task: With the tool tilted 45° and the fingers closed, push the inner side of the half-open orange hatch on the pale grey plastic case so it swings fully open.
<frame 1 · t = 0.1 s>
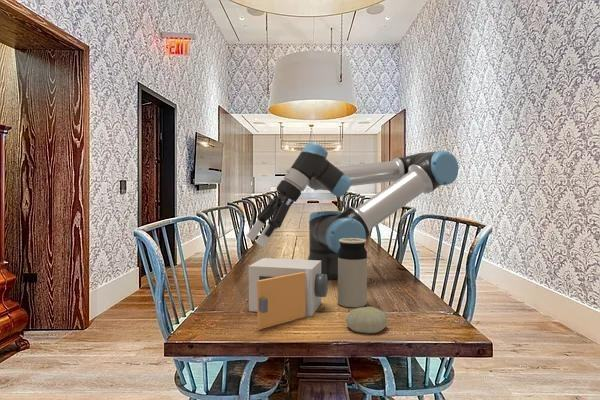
hand: (254, 241, 135), 15 cm above the table, tool tilted 35°, fingers open, 13 cm apart
hatch: (284, 299, 104), point 6 cm above the table, hinge at 55.0°
travel mug: (352, 304, 122), on the table
case: (286, 306, 119), on the table
sea urchin shell: (366, 329, 102), on the table
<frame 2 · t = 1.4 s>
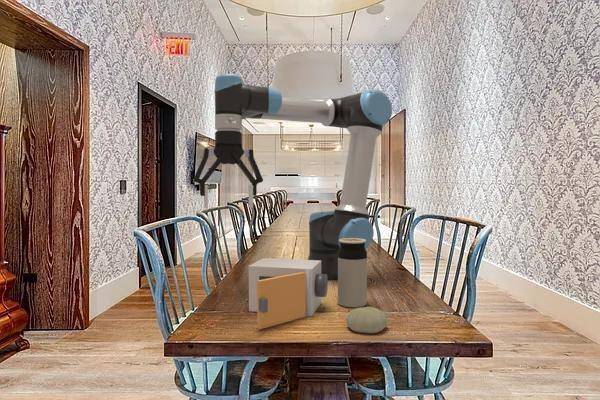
hand: (228, 207, 124), 27 cm above the table, tool pointing down, fingers open, 12 cm apart
nothing on the table moved.
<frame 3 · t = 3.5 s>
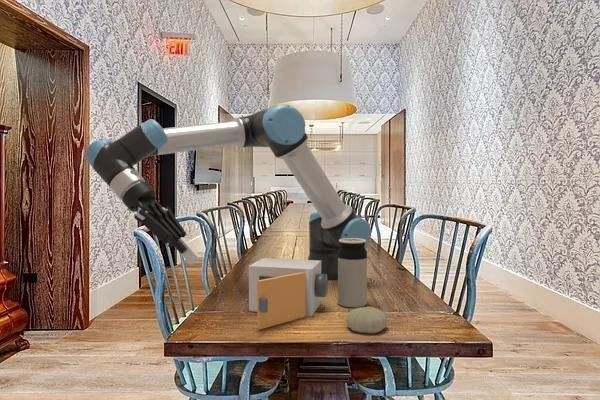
hand: (195, 260, 105), 15 cm above the table, tool tilted 45°, fingers closed
nothing on the table moved.
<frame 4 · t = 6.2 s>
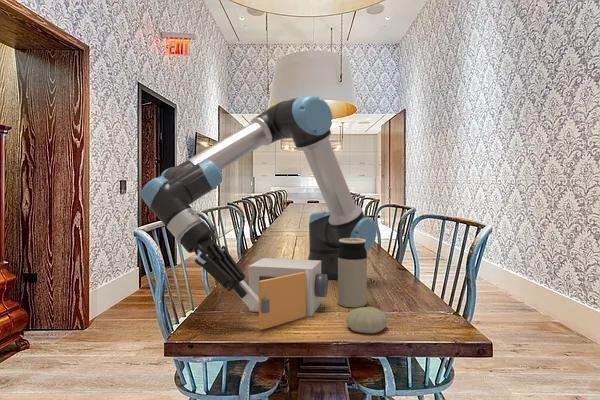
hand: (256, 305, 102), 5 cm above the table, tool tilted 45°, fingers closed
hatch: (285, 299, 104), point 6 cm above the table, hinge at 57.3°, touching gripper
everything else where it was.
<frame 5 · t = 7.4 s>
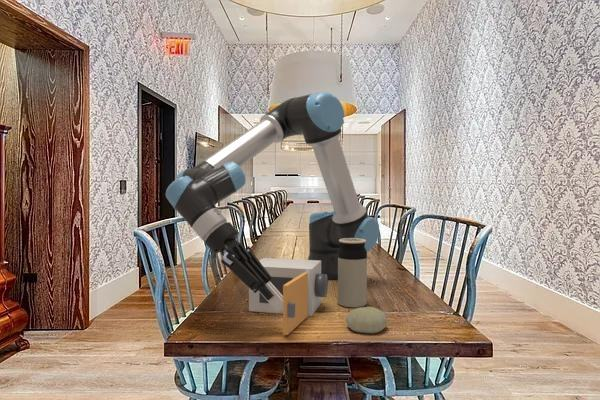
hand: (283, 307, 100), 6 cm above the table, tool tilted 45°, fingers closed, pressing on hatch
hatch: (299, 302, 102), point 6 cm above the table, hinge at 84.5°, touching gripper
everything else where it was.
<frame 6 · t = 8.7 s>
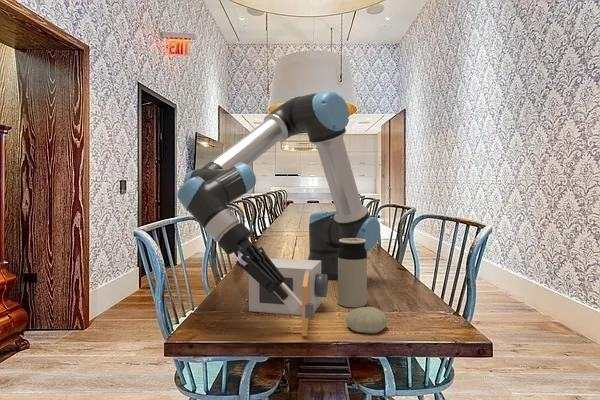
hand: (297, 307, 99), 6 cm above the table, tool tilted 45°, fingers closed
hatch: (308, 302, 102), point 6 cm above the table, hinge at 101.1°, touching gripper
everything else where it was.
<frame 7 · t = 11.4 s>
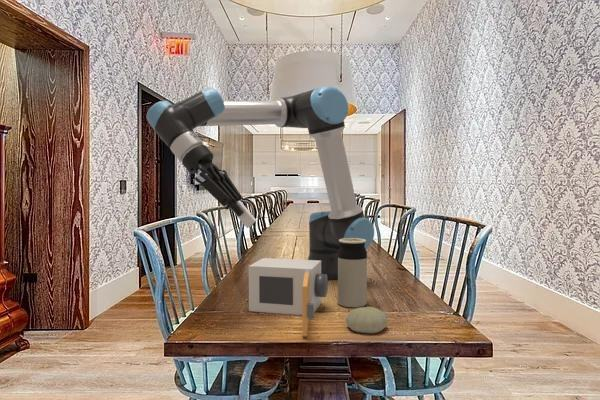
hand: (251, 224, 108), 24 cm above the table, tool tilted 40°, fingers closed
hatch: (309, 302, 102), point 6 cm above the table, hinge at 101.2°
everything else where it was.
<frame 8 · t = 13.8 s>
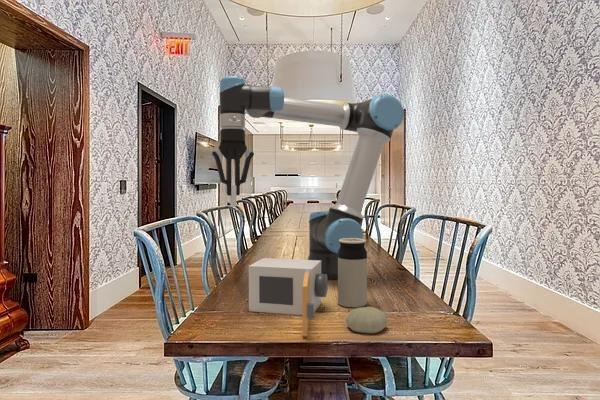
hand: (233, 206, 134), 26 cm above the table, tool pointing down, fingers closed
nothing on the table moved.
at the end: hatch at +101° (first picture: +55°) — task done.
